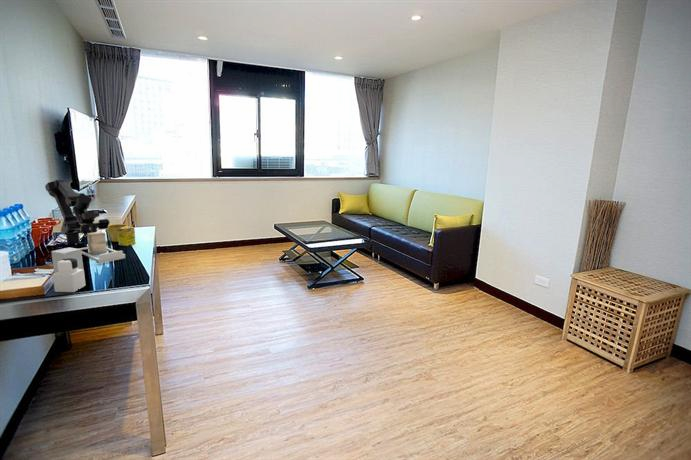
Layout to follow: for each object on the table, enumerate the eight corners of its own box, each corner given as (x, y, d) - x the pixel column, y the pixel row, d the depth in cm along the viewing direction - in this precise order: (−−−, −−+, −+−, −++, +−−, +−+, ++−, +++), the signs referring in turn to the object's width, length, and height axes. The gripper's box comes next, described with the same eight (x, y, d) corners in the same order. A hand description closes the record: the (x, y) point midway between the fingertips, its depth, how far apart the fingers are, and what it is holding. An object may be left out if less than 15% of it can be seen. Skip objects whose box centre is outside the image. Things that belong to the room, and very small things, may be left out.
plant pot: (133, 241, 209) (132, 224, 207) (119, 245, 199) (118, 228, 197) (118, 239, 211) (116, 223, 209) (103, 243, 201) (102, 226, 199)
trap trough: (75, 252, 181) (74, 245, 181) (101, 248, 191) (100, 241, 190) (98, 263, 168) (97, 255, 167) (125, 258, 178) (124, 250, 177)
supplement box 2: (127, 248, 194) (126, 229, 192) (118, 247, 195) (116, 228, 193) (136, 245, 200) (134, 226, 198) (127, 244, 201) (125, 225, 199)
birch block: (89, 252, 179) (87, 233, 177) (102, 250, 184) (100, 231, 182) (93, 254, 177) (91, 235, 174) (106, 252, 181) (104, 233, 179)
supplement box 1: (85, 277, 150) (82, 249, 147) (66, 283, 143) (63, 253, 140) (73, 274, 152) (69, 246, 150) (54, 280, 145) (50, 251, 143)
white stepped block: (67, 285, 141) (63, 256, 139) (86, 285, 142) (82, 257, 139) (54, 292, 134) (50, 262, 132) (74, 292, 135) (70, 262, 132)
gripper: (64, 207, 172) (76, 232, 168) (106, 204, 187) (118, 227, 184) (59, 220, 178) (71, 245, 174) (100, 216, 193) (112, 239, 190)
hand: (94, 239), depth 180 cm, fingers closed, pressing on birch block
